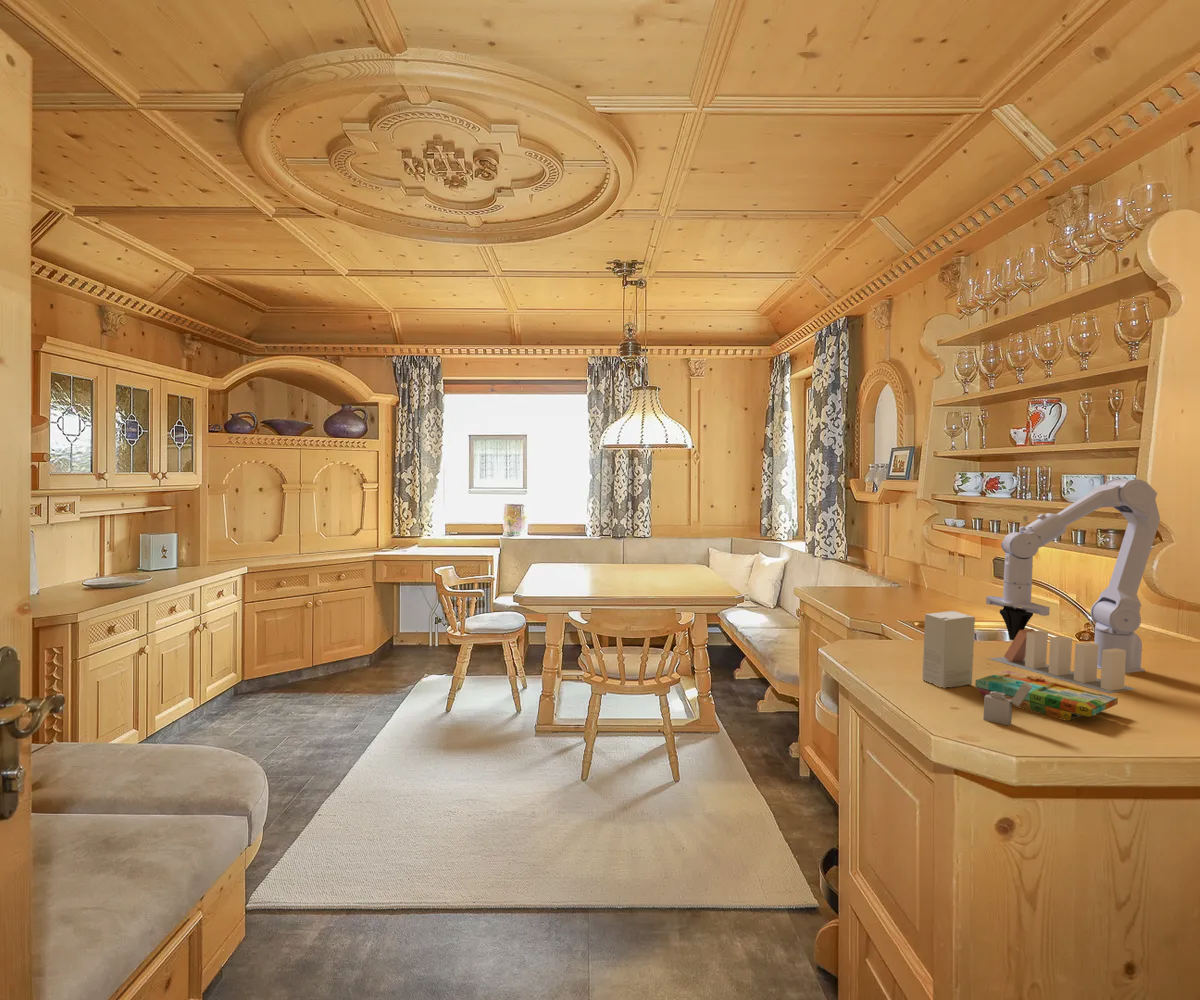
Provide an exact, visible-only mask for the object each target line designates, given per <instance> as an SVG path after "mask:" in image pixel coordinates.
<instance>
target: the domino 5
mask: <svg viewBox="0 0 1200 1000" xmlns="http://www.w3.org/2000/svg"><path fill="white" fill-rule="evenodd" d="M1125 664H1126V650H1121V649H1117V648H1114V649H1106V650H1103V651H1102V669H1100V671H1101V672H1100V673H1101V674H1100V679H1101V688H1103V689H1107V690H1110V691H1112V690H1118V689H1124V686H1125V678H1126V673H1125Z"/></svg>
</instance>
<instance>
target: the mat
mask: <svg viewBox="0 0 1200 1000" xmlns="http://www.w3.org/2000/svg"><path fill="white" fill-rule="evenodd" d="M989 660H991V661H995V662H997V663H1001V664H1005V665H1007V666H1008V665H1009V666H1012V667H1016V668H1019V669H1022V670H1025V671H1030V672H1032V673H1036V674H1040V675H1044V676H1047V677H1050V678H1053V679H1056V680H1060V681H1064V682H1067V683H1069V684H1070V683H1071V684H1074V685H1077V686H1081V687H1084V688H1088V689H1091V690H1094V691H1095V690H1096V691H1098V692H1102V693H1106V694H1108V695H1109V694H1114V693H1120V692H1121V693H1122V692H1126V691H1132V690H1136V688H1134V687H1133V686H1131V687H1130V686H1127V685H1124V689H1118V690H1112V691H1110V690H1107V689H1103V688H1101V678H1098V677H1097V678H1096V681H1092V682H1085V683H1082V682H1078V681H1075V680H1074V670H1073V671H1072V670H1071V673H1070V674H1064V675H1058V676H1057V675H1054V674H1050V673H1048V672H1049V664H1047V663H1046V667H1042V668H1035V669H1033V668H1029V667H1026V666H1025V659H1024V660H1023V661H1016V662H1010V661H1009V660H1007V659H1006V658H1005V657H1004V656H1000V657H999V656H998V657H991V658H989Z"/></svg>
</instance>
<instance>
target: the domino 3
mask: <svg viewBox="0 0 1200 1000" xmlns="http://www.w3.org/2000/svg"><path fill="white" fill-rule="evenodd" d="M1072 649H1073V638H1072V637H1069V636H1065V635H1062V636H1053V637H1050V638H1049V657H1048V665H1049V672H1048V673H1050V674H1054V675H1057V676H1058V675H1064V674H1070V673H1071V671H1072V669H1071V668H1072V667H1071V666H1072Z"/></svg>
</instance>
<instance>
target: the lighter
mask: <svg viewBox="0 0 1200 1000" xmlns="http://www.w3.org/2000/svg"><path fill="white" fill-rule="evenodd" d="M1031 688H1032V686H1031V685H1029V684H1028V683H1026V682H1024V683H1023V684H1022V685H1021V687H1020V688H1019V690H1018V691H1017V693H1016V694H1015V696H1014V697H1013V699H1012V700H1011V699H1006V698H1005V693H1001V692H996V691H994V692H990V695H985V696H984V697H983V699H984V700H983V701H984V702H983V718H982V719H983V721H987V722H989V723H990V722H991V723H995V724H1000V725H1004V726H1007V725H1008V726H1007V727H1009V726H1011V725H1012V715H1013V706H1012V703H1013V704H1014V705H1016V706H1017V707H1016V706H1015V707H1016V708H1019V707H1018V706H1019V705H1020V704H1021V703H1022V701H1023V700H1024V698H1025V697H1026V695H1027V694H1028V692H1029V691H1030V690H1031Z"/></svg>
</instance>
